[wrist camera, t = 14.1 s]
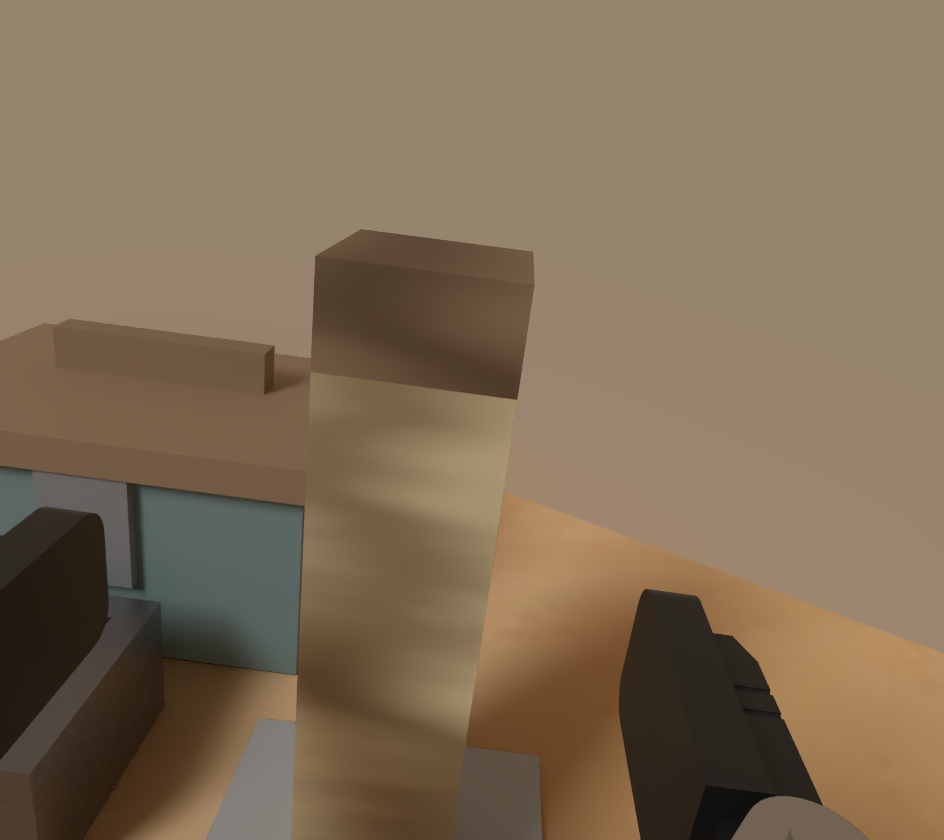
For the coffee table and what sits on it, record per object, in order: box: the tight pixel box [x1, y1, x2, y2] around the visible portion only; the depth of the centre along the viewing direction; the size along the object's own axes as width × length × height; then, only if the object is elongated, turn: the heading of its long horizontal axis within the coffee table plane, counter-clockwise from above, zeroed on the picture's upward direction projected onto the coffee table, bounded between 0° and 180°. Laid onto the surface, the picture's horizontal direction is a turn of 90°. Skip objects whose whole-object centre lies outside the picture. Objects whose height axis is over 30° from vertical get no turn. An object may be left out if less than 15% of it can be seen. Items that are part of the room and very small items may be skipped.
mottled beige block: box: [291, 229, 534, 840], centre depth 17 cm, size 4×4×16 cm
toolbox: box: [0, 319, 311, 675], centre depth 29 cm, size 15×11×10 cm
